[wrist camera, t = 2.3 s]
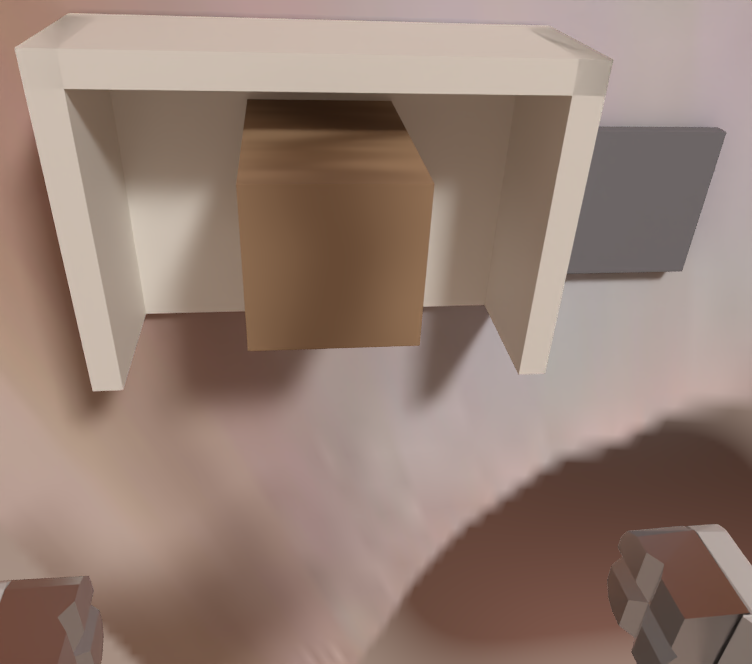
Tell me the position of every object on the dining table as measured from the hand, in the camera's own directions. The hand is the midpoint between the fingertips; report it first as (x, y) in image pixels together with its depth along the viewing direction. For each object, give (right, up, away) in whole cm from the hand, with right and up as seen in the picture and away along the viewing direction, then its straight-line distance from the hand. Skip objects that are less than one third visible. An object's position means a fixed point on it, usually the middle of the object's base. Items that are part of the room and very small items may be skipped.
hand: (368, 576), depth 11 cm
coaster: (+10, +9, +18) cm, 22 cm away
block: (-2, +10, +15) cm, 18 cm away
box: (-2, +10, +15) cm, 18 cm away
